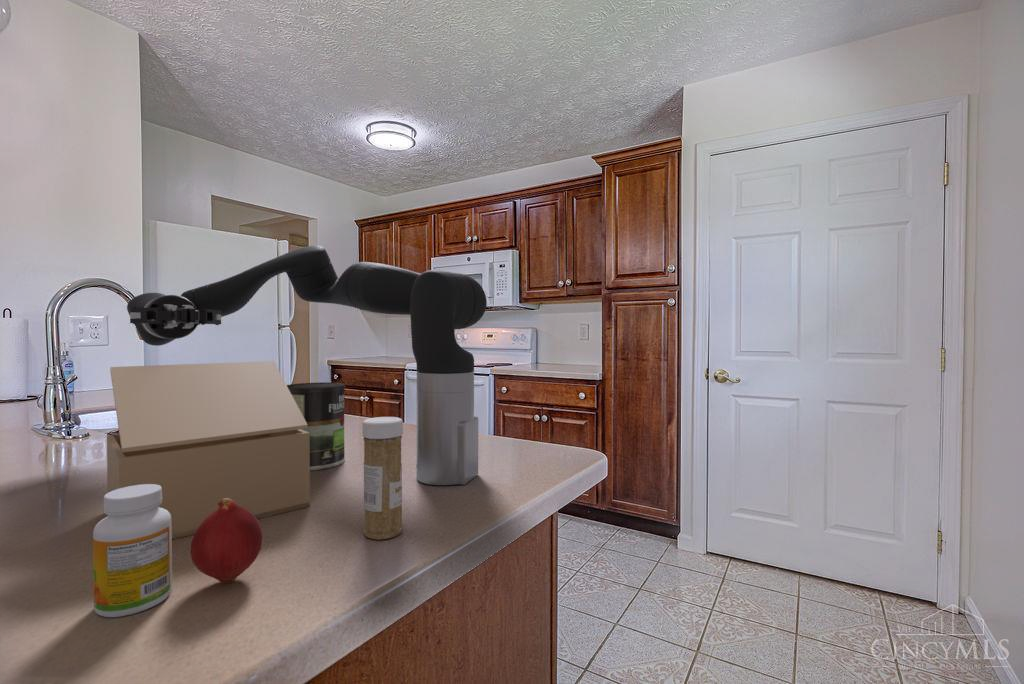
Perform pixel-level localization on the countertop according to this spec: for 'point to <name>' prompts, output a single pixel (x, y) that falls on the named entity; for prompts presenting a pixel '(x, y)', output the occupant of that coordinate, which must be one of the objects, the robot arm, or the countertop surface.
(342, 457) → the coffee can
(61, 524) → the countertop surface
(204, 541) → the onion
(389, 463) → the sprinkles bottle
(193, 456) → the carton
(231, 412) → the carton flap
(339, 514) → the countertop surface
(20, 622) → the countertop surface
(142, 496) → the supplement bottle
